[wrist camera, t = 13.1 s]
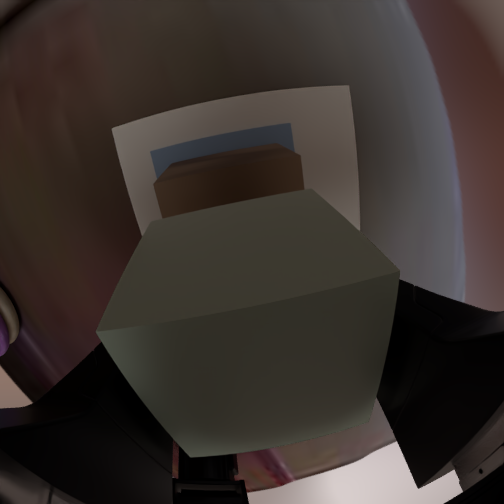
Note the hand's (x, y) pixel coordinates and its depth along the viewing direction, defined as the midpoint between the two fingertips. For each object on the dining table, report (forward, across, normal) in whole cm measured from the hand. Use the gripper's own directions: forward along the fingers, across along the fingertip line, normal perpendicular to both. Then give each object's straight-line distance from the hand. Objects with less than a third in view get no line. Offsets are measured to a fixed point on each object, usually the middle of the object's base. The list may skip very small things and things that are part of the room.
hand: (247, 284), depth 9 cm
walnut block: (+9, 0, 0) cm, 9 cm away
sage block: (+1, 0, 0) cm, 1 cm away
